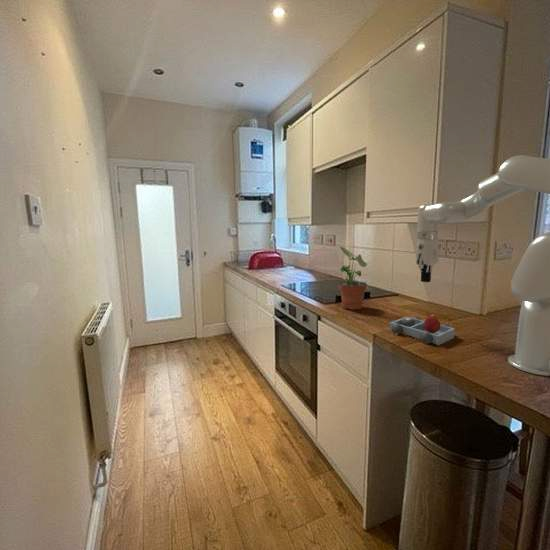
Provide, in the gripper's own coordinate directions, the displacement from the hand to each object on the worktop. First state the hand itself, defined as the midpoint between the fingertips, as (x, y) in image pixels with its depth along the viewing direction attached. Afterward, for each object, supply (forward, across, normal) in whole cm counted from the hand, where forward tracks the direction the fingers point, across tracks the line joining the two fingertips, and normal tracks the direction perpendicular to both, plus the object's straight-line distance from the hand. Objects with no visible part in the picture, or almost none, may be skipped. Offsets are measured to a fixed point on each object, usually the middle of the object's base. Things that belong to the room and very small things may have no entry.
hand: (425, 281), depth 123 cm
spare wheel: (+18, -4, +5) cm, 19 cm away
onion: (+20, -4, -5) cm, 21 cm away
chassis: (+21, -4, -1) cm, 22 cm away
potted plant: (+20, +6, +41) cm, 46 cm away
